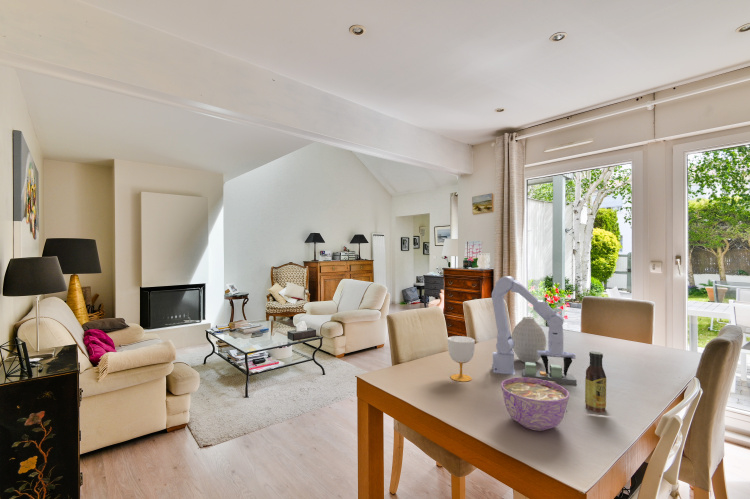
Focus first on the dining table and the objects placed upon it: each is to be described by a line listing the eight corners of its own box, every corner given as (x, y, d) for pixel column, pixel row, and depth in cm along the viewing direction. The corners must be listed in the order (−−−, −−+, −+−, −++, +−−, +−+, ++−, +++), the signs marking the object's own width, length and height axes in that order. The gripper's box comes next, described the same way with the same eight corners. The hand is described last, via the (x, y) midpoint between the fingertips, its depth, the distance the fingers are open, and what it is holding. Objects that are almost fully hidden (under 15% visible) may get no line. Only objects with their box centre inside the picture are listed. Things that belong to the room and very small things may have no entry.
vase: (548, 359, 181) (547, 316, 182) (543, 368, 168) (543, 321, 168) (514, 355, 190) (514, 313, 190) (508, 362, 176) (508, 318, 177)
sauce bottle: (599, 415, 119) (598, 356, 120) (581, 408, 125) (580, 351, 125) (610, 411, 122) (610, 353, 123) (592, 404, 128) (592, 349, 128)
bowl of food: (494, 429, 110) (494, 391, 110) (507, 405, 127) (507, 373, 127) (567, 448, 99) (567, 406, 99) (571, 419, 116) (571, 384, 116)
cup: (479, 377, 155) (479, 338, 155) (466, 385, 146) (466, 343, 147) (456, 371, 163) (456, 334, 163) (442, 378, 154) (442, 339, 155)
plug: (551, 381, 150) (551, 367, 150) (549, 378, 153) (549, 364, 154) (562, 382, 148) (562, 368, 148) (560, 379, 152) (560, 365, 152)
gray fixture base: (524, 381, 151) (524, 365, 151) (522, 374, 159) (522, 360, 159) (576, 386, 145) (576, 370, 145) (572, 379, 153) (571, 364, 153)
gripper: (538, 343, 150) (538, 375, 150) (577, 345, 145) (577, 378, 145) (536, 339, 156) (536, 370, 156) (573, 341, 152) (573, 373, 152)
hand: (556, 374), depth 151 cm, fingers open, 6 cm apart
